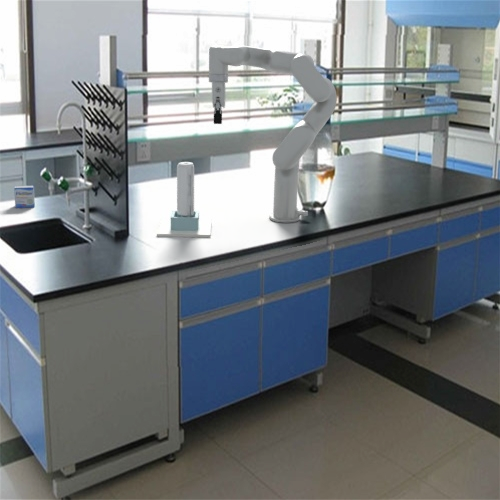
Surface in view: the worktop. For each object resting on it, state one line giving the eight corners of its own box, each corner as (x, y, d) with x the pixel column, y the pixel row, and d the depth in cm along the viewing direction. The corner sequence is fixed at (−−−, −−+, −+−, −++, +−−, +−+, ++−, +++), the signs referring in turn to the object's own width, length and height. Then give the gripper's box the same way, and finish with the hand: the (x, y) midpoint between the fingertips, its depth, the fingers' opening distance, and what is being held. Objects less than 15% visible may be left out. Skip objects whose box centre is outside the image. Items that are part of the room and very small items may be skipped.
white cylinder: (194, 224, 283) (194, 161, 275) (193, 229, 277) (193, 164, 269) (177, 224, 283) (177, 161, 275) (176, 228, 276) (176, 164, 269)
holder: (211, 222, 290) (211, 208, 288) (210, 237, 271) (210, 221, 269) (161, 221, 289) (161, 207, 287) (156, 236, 270) (156, 221, 268)
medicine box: (15, 208, 302) (13, 188, 300) (15, 205, 307) (14, 185, 304) (34, 207, 304) (33, 187, 302) (35, 204, 309) (33, 184, 306)
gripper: (227, 80, 277) (227, 125, 282) (227, 76, 293) (227, 119, 298) (208, 80, 276) (207, 125, 282) (209, 76, 293) (208, 118, 298)
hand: (217, 121), depth 290 cm, fingers open, 9 cm apart
